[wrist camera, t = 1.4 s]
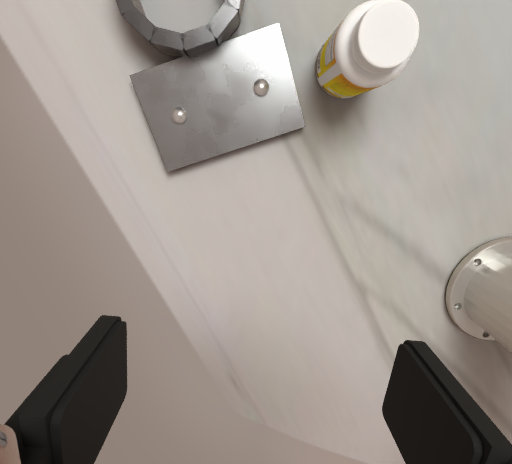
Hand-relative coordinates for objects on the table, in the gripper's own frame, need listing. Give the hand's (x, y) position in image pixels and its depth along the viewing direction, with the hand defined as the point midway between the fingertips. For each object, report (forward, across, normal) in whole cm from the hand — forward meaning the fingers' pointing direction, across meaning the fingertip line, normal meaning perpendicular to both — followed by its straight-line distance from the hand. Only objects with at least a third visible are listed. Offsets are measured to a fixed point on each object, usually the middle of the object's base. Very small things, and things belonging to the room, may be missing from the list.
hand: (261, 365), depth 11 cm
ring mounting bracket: (+24, +8, -19) cm, 32 cm away
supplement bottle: (+24, -7, -14) cm, 29 cm away
